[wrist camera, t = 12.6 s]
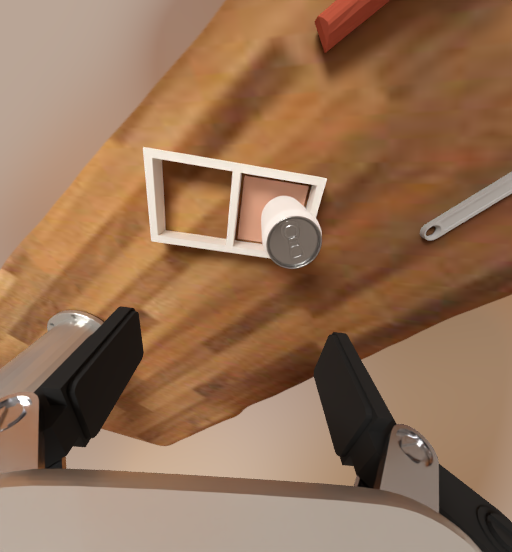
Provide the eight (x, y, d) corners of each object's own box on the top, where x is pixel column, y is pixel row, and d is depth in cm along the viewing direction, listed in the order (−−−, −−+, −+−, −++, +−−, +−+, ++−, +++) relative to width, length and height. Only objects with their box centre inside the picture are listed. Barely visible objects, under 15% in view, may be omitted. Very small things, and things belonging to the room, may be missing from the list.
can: (298, 188, 30) (319, 201, 19) (307, 230, 33) (331, 262, 22) (255, 203, 31) (253, 224, 20) (268, 243, 34) (272, 279, 23)
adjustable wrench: (420, 241, 34) (428, 245, 32) (408, 207, 32) (416, 210, 30) (623, 134, 27) (645, 133, 25) (627, 81, 24) (652, 75, 23)
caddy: (299, 255, 35) (303, 263, 32) (159, 235, 33) (151, 241, 31) (320, 177, 29) (327, 178, 27) (153, 148, 28) (142, 146, 25)
